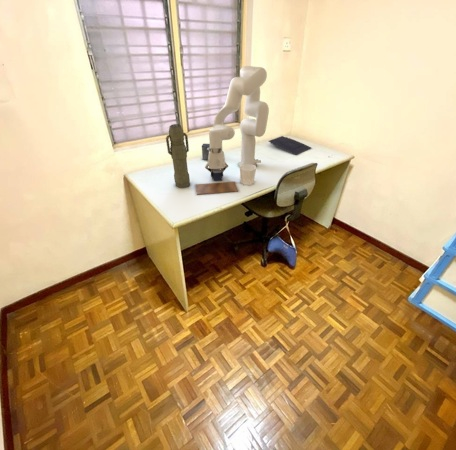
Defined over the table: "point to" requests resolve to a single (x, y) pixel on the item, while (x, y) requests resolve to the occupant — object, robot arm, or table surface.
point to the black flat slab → (289, 145)
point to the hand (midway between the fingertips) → (217, 177)
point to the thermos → (178, 155)
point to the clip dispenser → (217, 175)
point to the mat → (216, 188)
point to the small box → (205, 151)
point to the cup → (247, 174)
